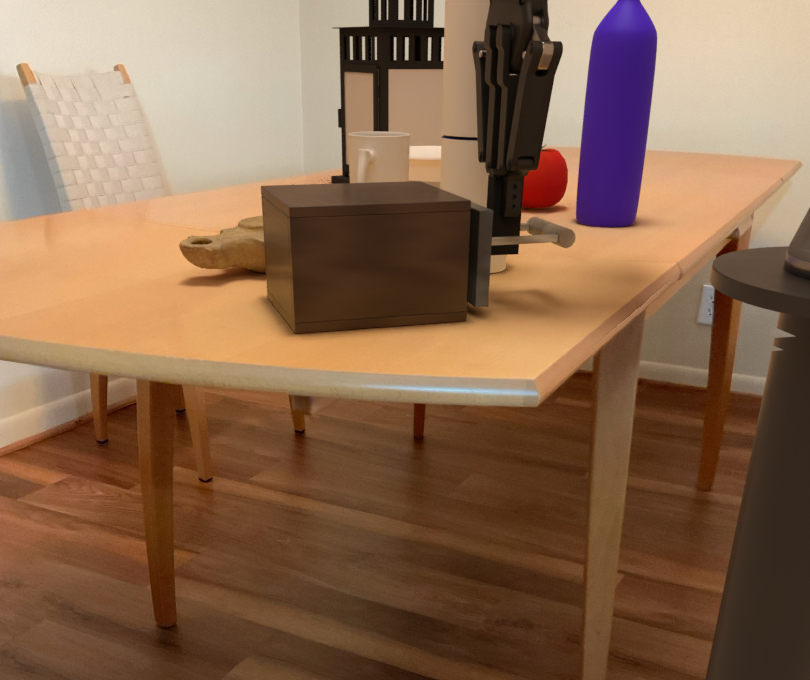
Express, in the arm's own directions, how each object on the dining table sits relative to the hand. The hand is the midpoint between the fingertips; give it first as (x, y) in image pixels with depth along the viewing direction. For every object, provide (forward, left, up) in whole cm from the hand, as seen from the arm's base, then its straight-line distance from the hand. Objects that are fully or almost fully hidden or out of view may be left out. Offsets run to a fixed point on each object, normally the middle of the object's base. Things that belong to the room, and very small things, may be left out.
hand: (501, 252), depth 82 cm
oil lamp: (+26, -1, -4) cm, 26 cm away
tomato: (+12, -56, -4) cm, 57 cm away
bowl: (+21, -40, -4) cm, 45 cm away
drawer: (+4, +4, -3) cm, 7 cm away
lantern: (+39, -70, -4) cm, 80 cm away
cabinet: (+10, +8, -4) cm, 14 cm away
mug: (+20, -17, -4) cm, 26 cm away
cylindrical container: (+7, -13, -4) cm, 15 cm away
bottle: (0, -48, -4) cm, 48 cm away
